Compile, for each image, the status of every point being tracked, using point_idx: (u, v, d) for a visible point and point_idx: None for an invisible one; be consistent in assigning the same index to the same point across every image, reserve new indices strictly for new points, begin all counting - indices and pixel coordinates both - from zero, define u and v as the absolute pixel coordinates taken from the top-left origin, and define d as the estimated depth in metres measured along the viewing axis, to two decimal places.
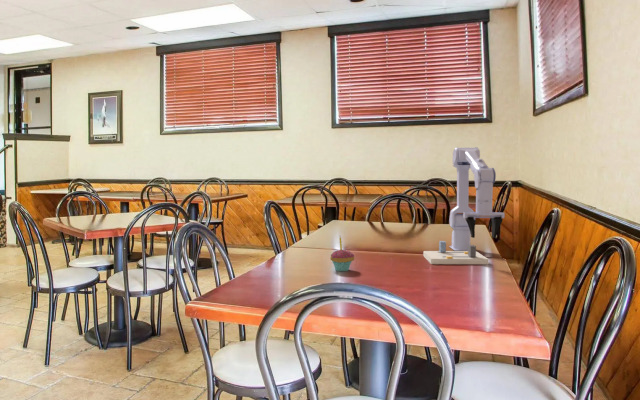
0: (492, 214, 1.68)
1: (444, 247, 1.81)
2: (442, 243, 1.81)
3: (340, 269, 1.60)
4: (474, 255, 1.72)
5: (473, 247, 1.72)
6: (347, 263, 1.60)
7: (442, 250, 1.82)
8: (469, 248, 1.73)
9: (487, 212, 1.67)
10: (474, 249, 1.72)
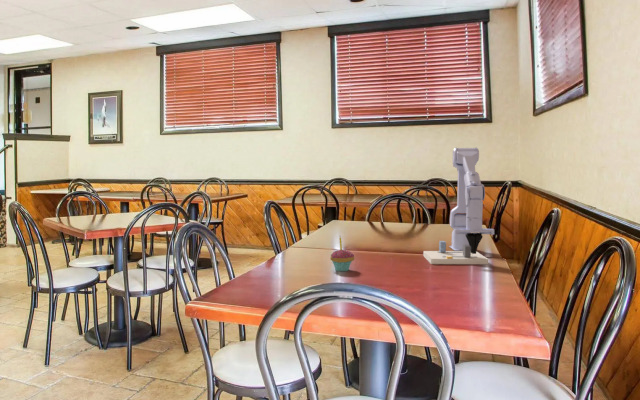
0: (482, 231, 1.71)
1: (444, 247, 1.81)
2: (442, 243, 1.81)
3: (340, 269, 1.60)
4: (469, 255, 1.72)
5: (468, 247, 1.72)
6: (347, 263, 1.60)
7: (442, 250, 1.82)
8: (464, 248, 1.73)
9: (477, 229, 1.70)
10: (469, 249, 1.72)
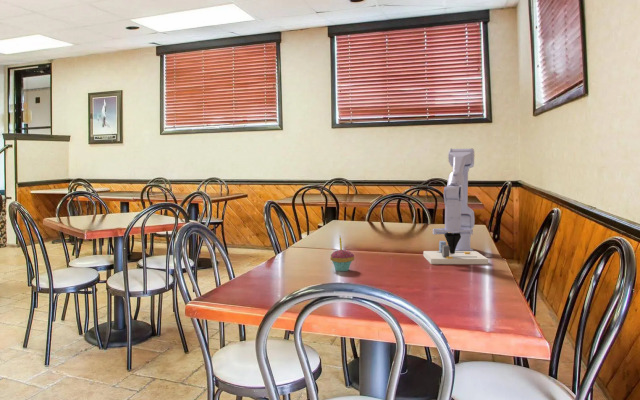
0: (460, 231, 1.71)
1: None
2: (442, 243, 1.81)
3: (340, 269, 1.60)
4: (447, 255, 1.73)
5: (446, 247, 1.72)
6: (347, 263, 1.60)
7: None
8: (443, 248, 1.73)
9: (455, 229, 1.70)
10: (447, 249, 1.72)
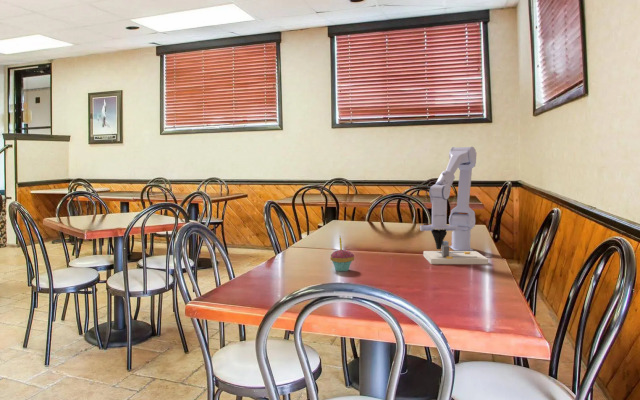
0: (446, 227, 1.80)
1: None
2: (444, 243, 1.81)
3: (340, 269, 1.60)
4: (447, 255, 1.73)
5: (446, 247, 1.72)
6: (347, 263, 1.60)
7: None
8: (443, 248, 1.73)
9: (441, 225, 1.80)
10: (447, 249, 1.72)
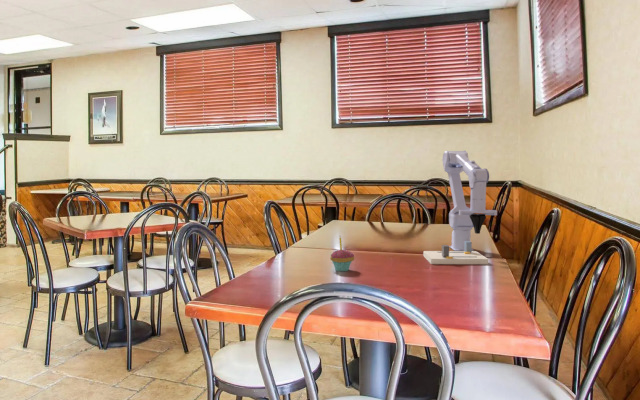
0: (485, 211, 1.80)
1: (470, 247, 1.81)
2: (468, 243, 1.81)
3: (340, 269, 1.60)
4: (447, 255, 1.73)
5: (446, 247, 1.72)
6: (347, 263, 1.60)
7: (468, 250, 1.81)
8: (443, 248, 1.73)
9: (481, 210, 1.80)
10: (447, 249, 1.72)
